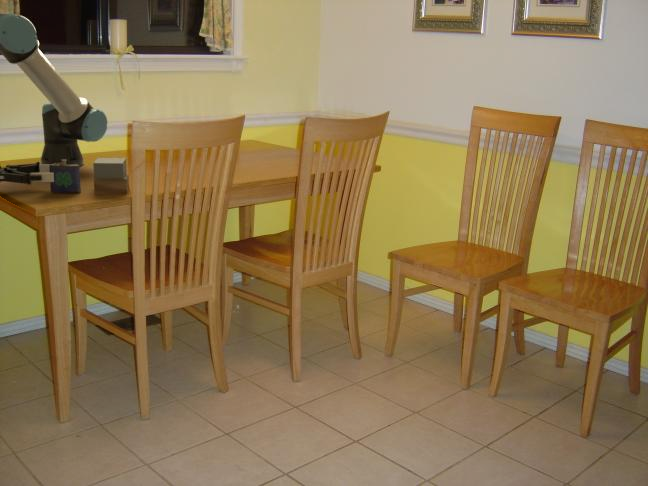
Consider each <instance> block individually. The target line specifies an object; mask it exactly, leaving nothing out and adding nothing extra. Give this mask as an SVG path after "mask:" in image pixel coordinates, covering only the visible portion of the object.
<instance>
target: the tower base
mask: <svg viewBox="0 0 648 486" xmlns="http://www.w3.org/2000/svg"><path fill="white" fill-rule="evenodd" d="M129 174H130V173H129V172H127V173H126V175H125V177H124V179H94V178H93V191H94V194H95V195H103V194H104V195H108V194H109V195H114V194H115V195H117V194H118V195H123V194H126V195H127V194H128V192H129V189H130V178H129V177H130V175H129Z"/></svg>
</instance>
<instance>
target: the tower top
mask: <svg viewBox="0 0 648 486" xmlns="http://www.w3.org/2000/svg"><path fill="white" fill-rule="evenodd" d="M92 165H93V180H94V179H124V177H125V175H126V173H128V172H127V158H126V157H123V158H122V157H121V158H120V157H97V158H96V159H95V160H94V162H93V163H92Z"/></svg>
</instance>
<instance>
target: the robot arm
mask: <svg viewBox="0 0 648 486" xmlns="http://www.w3.org/2000/svg"><path fill="white" fill-rule="evenodd" d="M39 46H40V42H39V40H38V36H37V30H36V27H35V26H34V24H33V23H32V21H30V19H28V18H27V17H25V16H23V15H20V14H16V13H0V54H2V56H3V57H4V58H5V60H6V61H7V62H9V63H10V64H11V65H17V66H18V67H19V68H20V69H21V70H22V73H24V74H25V75H26V77H28V79H29V80H30V81H31V82H32V83H33V84H34V85H35V87H36V88H37V89H38V90H39V91H40V92H41V94H42V95H43V96H44V97H45V98H46V99H47V100H48V101H49V103H45V104H43V105H42V107H41V108H42V110H41V111H42V112H41V116H42V117H41V118H42V127H43V129H42V130H43V141H44V145H43V149H42V151H41V152H42V153H41V155H40V156H41V157H40V161H37V162H36V163H35V162H34V163H23V164H22V163H21V164H7V165H5V166H4V167H2V166H1V165H0V183H1V182H7V183H17V184H24V185H25V184H26V185H27V186H29V185H32V183H50V182H54V173H50V168H49V166H50V164H54V163H56V164H58V163H61V162H62V159H66V160H67V161H66V165H75V164H77V165H79V167H81V166H83V165H84V163H85V162H84V157H83V154H82V152H81V150H80V149H81V148H80V147H79V144H78V141H83V142H87V143H91V142H92V143H93V142H98V141H101V139H102V138H103V137H104V136H105V134H106V132H107V130H108V119H107V118H108V117H107V116H106V113H104V111H103V110H101V109H99V108H94V107H93V106H92V104H90V103H89V101H88V100H87V99H86V98H84V97H79V96H78V95H77V94H76V92H75V91H74V90H73V89H72V87H70V85H69V84H68V83H67V81H66V80H65V79H64V77H62V75H61V74H60V73H59V71H58V70H57V69H56V68H55V67H54V66H53V64H52V63H51V62H50V60H49V59H47V57H46V55H45V54H43V52H42V51H41V50H40V49H39Z"/></svg>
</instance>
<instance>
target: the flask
mask: <svg viewBox="0 0 648 486" xmlns="http://www.w3.org/2000/svg"><path fill="white" fill-rule="evenodd" d="M66 161H67V160H66V159H62V162H61V163H58V164H56V163H54V164H50V166H49V168H50V173H54V182H49V183H50V184H49V185H50V193H51V194H81V192H82V190H81V176H80V167H81V166H79V165H77V164H75V165H66Z"/></svg>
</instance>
